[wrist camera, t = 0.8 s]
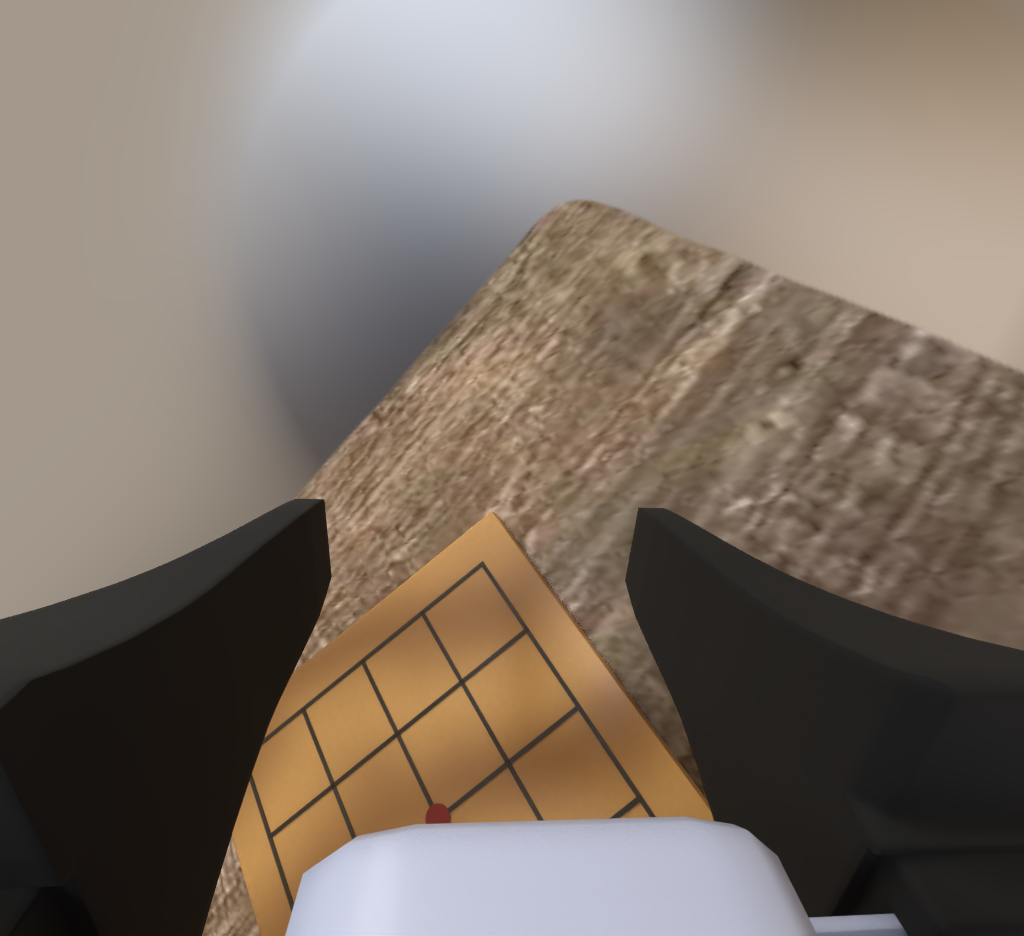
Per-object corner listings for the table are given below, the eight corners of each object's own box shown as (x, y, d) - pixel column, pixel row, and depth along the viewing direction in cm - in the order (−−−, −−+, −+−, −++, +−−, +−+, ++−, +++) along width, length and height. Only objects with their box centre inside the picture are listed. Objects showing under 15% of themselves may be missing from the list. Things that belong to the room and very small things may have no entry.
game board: (794, 918, 18) (802, 936, 17) (377, 1242, 19) (357, 1281, 17) (498, 516, 27) (491, 510, 26) (223, 740, 28) (203, 744, 26)
